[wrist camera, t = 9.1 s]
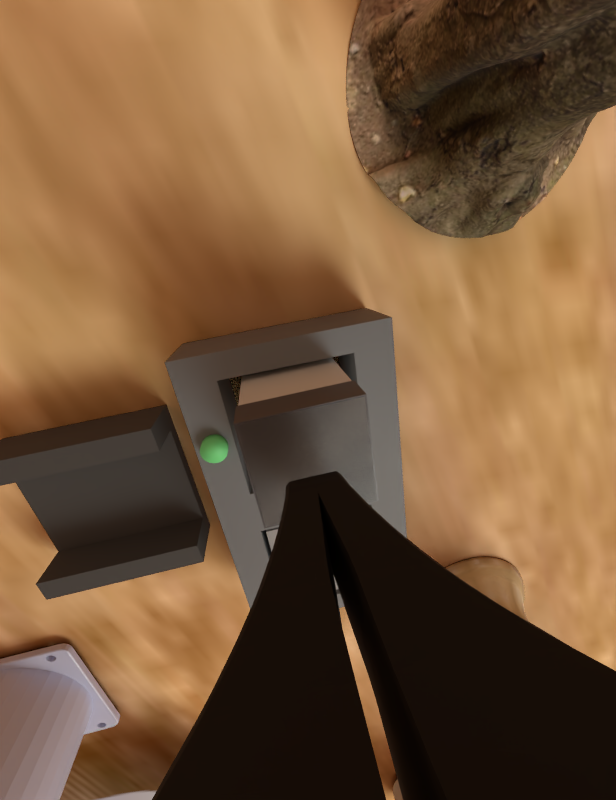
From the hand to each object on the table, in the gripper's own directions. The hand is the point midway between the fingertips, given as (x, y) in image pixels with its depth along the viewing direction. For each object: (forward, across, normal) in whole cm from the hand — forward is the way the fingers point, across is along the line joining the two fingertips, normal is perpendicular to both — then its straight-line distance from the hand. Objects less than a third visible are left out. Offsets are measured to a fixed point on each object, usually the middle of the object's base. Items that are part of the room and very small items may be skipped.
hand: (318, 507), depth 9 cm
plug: (+8, 0, 0) cm, 8 cm away
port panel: (+8, 0, +4) cm, 8 cm away
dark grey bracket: (+8, +9, +2) cm, 12 cm away
